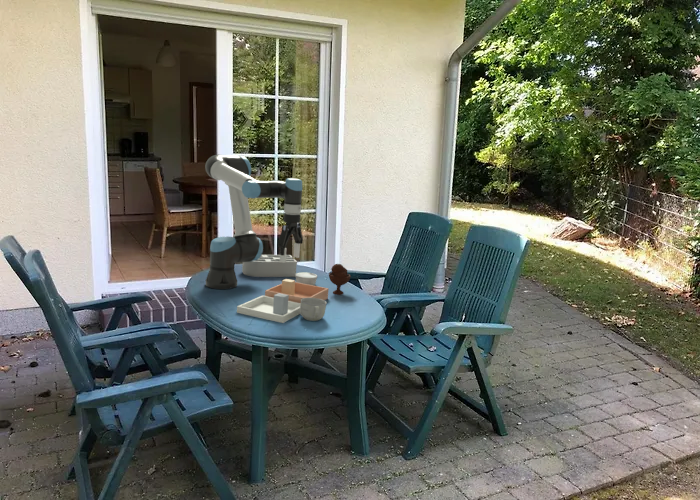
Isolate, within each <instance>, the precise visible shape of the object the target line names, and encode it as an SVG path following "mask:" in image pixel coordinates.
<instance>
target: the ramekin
mask: <svg viewBox="0 0 700 500" xmlns="http://www.w3.org/2000/svg"><path fill="white" fill-rule="evenodd" d="M317 280H318V275H317V274H316V273H312V272H306V271H305V272H296V274H295V282H298V283H303V284H308V285H313V286H316V283H317Z"/></svg>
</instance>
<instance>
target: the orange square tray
mask: <svg viewBox="0 0 700 500" xmlns="http://www.w3.org/2000/svg"><path fill="white" fill-rule="evenodd" d="M329 288H330V287H329ZM329 288H328V287H324V286H323V287H322V286H318V285H314V286H313V285H308V284H303V283H298V282H296V281H295V294H294V296H293V295H289V299H288V301H292V302H297V303H301V299H302V298H318V299H322V300H324V301H326V300H329V299H328V298H329V291H330V290H329ZM281 290H282V283H280V284H278V285H275V286H272V287H271V288H268V289H266V290H265V291H264V296H268V297H273V298H274V295H276V294H278V293H281ZM281 294H283V293H281ZM286 295H288V294H286Z"/></svg>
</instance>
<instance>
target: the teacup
mask: <svg viewBox="0 0 700 500" xmlns="http://www.w3.org/2000/svg"><path fill="white" fill-rule="evenodd" d="M327 304H328V303H327V301H326V300H322V299H318V298H302V299H301V305H300V314H299V315H301V316H302V318H303V319H304V320H307V321H311V322H312V321H313V322H315V321H316V322H317V321H320V320H321V319H323V318H324V316H325V314H326V309H327Z"/></svg>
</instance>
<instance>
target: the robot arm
mask: <svg viewBox="0 0 700 500" xmlns="http://www.w3.org/2000/svg"><path fill="white" fill-rule="evenodd" d="M204 167H205V168H204V169H205V172H206V173H207V175H208V176H209V177H210V178H211V179H214V180H215V181H222V182H224V184H225V185H226V186H228V193H229V198H230V199H229V200H230V205H231V210H232V211H231V213H232V219H233V225H234V232H235V233H234V234H233V236H229V235H228V236H220V237H215V238H214V239H212V240H211V241H210V248H209V252H210V253H209V270H208V274H207V276H206V279H205V286H206V287H208V288H209V289H214V290H215V289H216V290H230V289H234V288H237V286H238V278H237V275H236V272H235V264H240V263H243V262H251V261H255V260H258V259H259V258H260V256H261V255H263V251H264V250H263V249H264V245H263V241H262V240H261V238H259V237H258V236H257V233H256V232H255V231H254V230H253V225H252V218H251V212H250V210H251V209H250V205H249V199H272V198H276V199H278V198H279V199H284V205H283V213H284V214H283V222H284V223H285V225H282V226H281V231H280V235H279V239H278V243H277V248H279V249H280V250H279V255H280V262H283V263H286V255H287V244H288V242H289V240H290V237H291V236H292V237H293V239H294V240H293V241H294V245H293V258H297V259H298V258H300V256H301V255H300V253H301V244H303V243H304V242H303V241H304V239H303V238H304V237H303V234H302V228H301V227H302V226H301V225H302V223H301V214H302V213H301V211H302V199H303V198H302V197H303V180H301V179H299V178H292V177H290V178H289V177H288V178H286V179H285V181H282V180H276V179H275V180H274V179H273V180H259V179H256V178H254V177H251V175H252V165H251V163H250V161H249V159H248V158H247V157H245V156H243V155H238V154H235V155H233V154H215V155H212V156H210V157H209V158H208V159H207V161H206V162H205V166H204Z"/></svg>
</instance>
